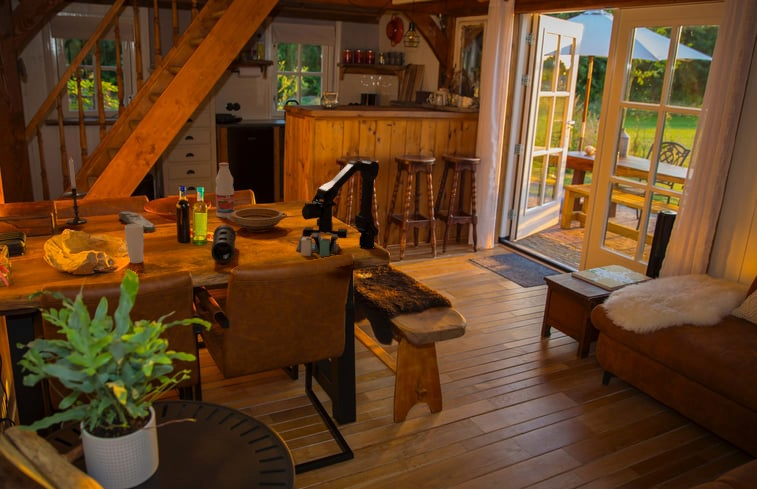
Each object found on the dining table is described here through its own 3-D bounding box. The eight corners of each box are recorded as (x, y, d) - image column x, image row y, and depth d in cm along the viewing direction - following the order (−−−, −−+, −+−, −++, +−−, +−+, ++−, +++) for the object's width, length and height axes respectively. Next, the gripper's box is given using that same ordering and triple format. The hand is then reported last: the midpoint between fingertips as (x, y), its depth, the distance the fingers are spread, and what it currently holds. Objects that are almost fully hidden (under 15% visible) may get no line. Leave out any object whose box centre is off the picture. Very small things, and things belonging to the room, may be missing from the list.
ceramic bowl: (280, 221, 313) (280, 206, 311) (293, 233, 292) (293, 217, 290) (222, 224, 301) (222, 209, 299) (232, 237, 280) (232, 221, 278)
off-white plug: (311, 253, 263) (311, 237, 261) (310, 255, 259) (310, 240, 257) (302, 252, 263) (302, 237, 261) (301, 255, 259) (301, 239, 257)
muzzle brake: (211, 266, 241) (210, 241, 238) (214, 246, 267) (213, 223, 264) (235, 265, 243) (234, 241, 240) (236, 245, 269) (235, 223, 266)
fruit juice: (232, 213, 325) (230, 161, 317) (236, 217, 317) (235, 164, 309) (214, 214, 321) (212, 162, 313) (218, 218, 313) (217, 165, 305)
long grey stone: (140, 236, 281) (160, 234, 287) (140, 226, 279) (161, 224, 286) (113, 217, 305) (133, 215, 311) (113, 207, 303) (133, 206, 310)
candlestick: (82, 225, 289) (75, 152, 279) (60, 224, 289) (52, 151, 279) (93, 220, 299) (87, 149, 290) (71, 219, 300) (64, 148, 290)
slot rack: (338, 246, 275) (339, 235, 273) (336, 253, 264) (337, 242, 263) (299, 244, 275) (299, 233, 273) (296, 251, 264) (296, 240, 263)
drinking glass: (147, 259, 245) (145, 223, 241) (142, 264, 238) (139, 228, 234) (130, 258, 244) (128, 223, 240) (124, 264, 238) (121, 227, 234)
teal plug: (329, 253, 263) (330, 238, 261) (328, 256, 259) (329, 241, 257) (320, 253, 263) (320, 238, 261) (319, 256, 259) (319, 240, 257)
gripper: (348, 213, 264) (347, 247, 268) (306, 211, 264) (305, 245, 268) (346, 219, 253) (345, 254, 257) (302, 217, 253) (302, 252, 257)
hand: (324, 251), depth 260 cm, fingers closed on teal plug, 4 cm apart
